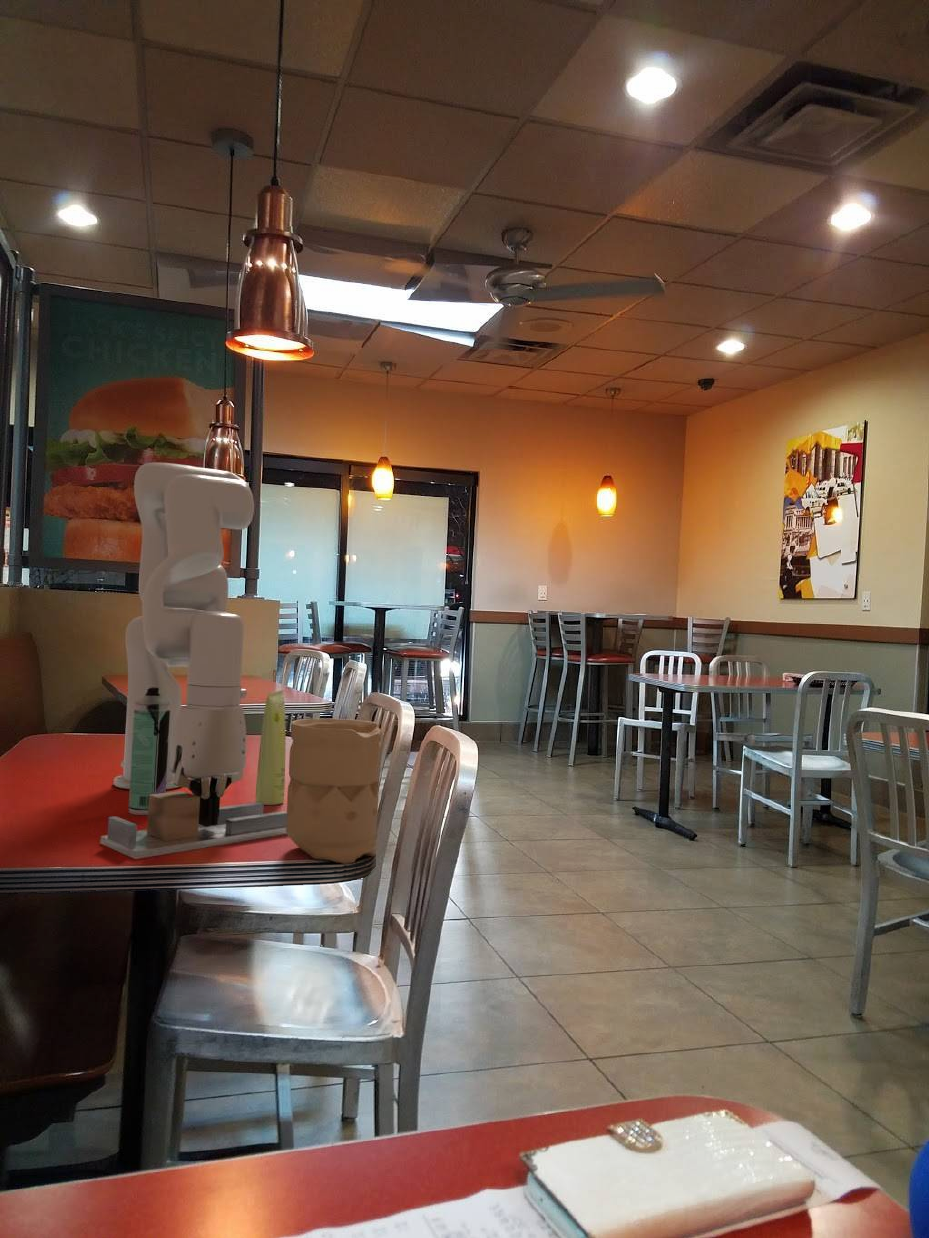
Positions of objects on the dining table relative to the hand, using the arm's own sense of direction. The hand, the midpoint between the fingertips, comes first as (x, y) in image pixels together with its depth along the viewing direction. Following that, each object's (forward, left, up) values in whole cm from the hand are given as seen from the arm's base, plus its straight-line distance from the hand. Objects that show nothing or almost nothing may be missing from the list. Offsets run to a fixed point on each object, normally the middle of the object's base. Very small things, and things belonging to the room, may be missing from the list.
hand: (206, 823), depth 127 cm
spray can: (-20, +1, -2) cm, 20 cm away
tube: (-15, +21, -2) cm, 26 cm away
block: (0, -5, -1) cm, 5 cm away
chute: (0, -1, -2) cm, 2 cm away
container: (+17, +9, -2) cm, 19 cm away
